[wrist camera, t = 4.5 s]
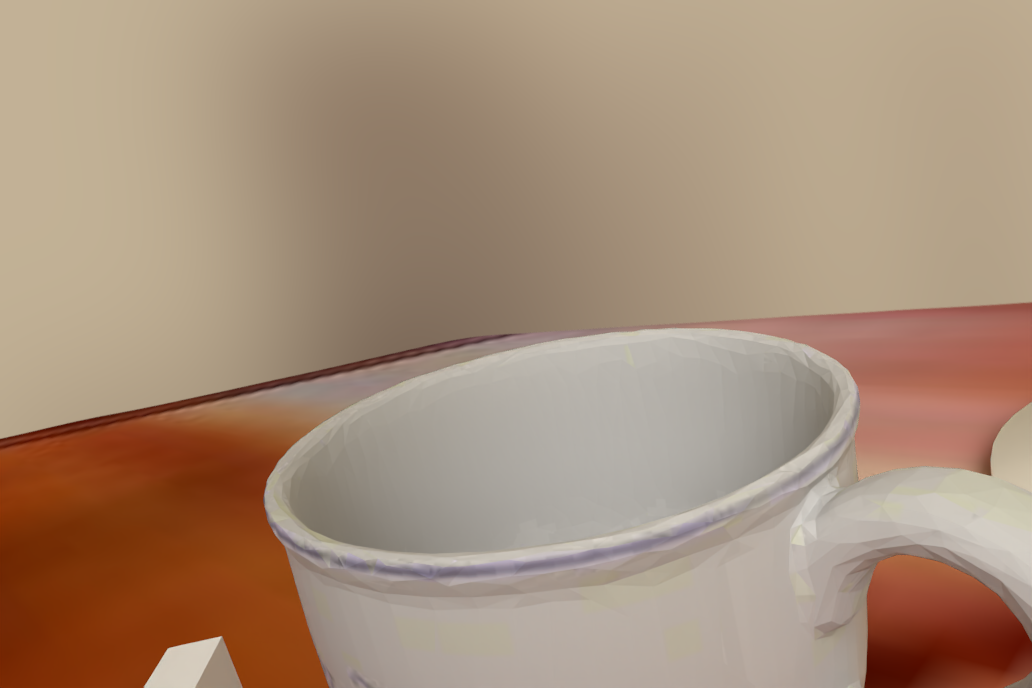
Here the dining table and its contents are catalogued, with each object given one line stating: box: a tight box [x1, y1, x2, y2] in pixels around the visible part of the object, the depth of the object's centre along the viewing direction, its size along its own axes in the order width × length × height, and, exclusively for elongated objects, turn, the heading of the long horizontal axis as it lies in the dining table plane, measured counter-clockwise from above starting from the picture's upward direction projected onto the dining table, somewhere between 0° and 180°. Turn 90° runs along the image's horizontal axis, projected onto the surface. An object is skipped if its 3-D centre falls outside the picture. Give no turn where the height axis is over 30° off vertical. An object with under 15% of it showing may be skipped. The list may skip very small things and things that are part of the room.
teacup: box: [263, 328, 1032, 688], centre depth 13 cm, size 14×11×8 cm
